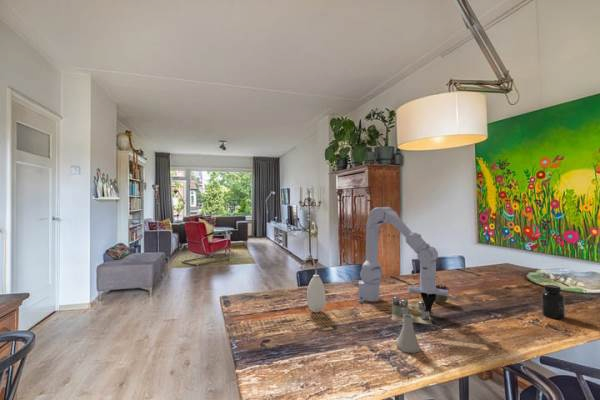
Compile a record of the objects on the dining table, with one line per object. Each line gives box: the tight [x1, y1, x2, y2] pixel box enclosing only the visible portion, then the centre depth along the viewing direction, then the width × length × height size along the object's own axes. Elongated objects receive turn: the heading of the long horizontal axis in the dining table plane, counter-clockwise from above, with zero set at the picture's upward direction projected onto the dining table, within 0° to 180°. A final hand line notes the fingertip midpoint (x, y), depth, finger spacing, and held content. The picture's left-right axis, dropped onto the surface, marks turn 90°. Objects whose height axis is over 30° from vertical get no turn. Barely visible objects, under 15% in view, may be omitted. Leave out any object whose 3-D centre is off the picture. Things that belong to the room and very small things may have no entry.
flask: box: [396, 314, 422, 354], centre depth 90 cm, size 7×7×10 cm
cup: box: [434, 284, 450, 305], centre depth 126 cm, size 8×7×8 cm
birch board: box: [391, 302, 433, 325], centre depth 115 cm, size 14×19×1 cm
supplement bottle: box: [541, 284, 566, 320], centre depth 113 cm, size 7×7×12 cm
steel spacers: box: [392, 295, 430, 320], centre depth 116 cm, size 13×16×3 cm
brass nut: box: [407, 305, 419, 315], centre depth 114 cm, size 4×4×2 cm
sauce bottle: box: [306, 269, 327, 314], centre depth 119 cm, size 8×8×18 cm
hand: (428, 312), depth 113 cm, fingers closed
